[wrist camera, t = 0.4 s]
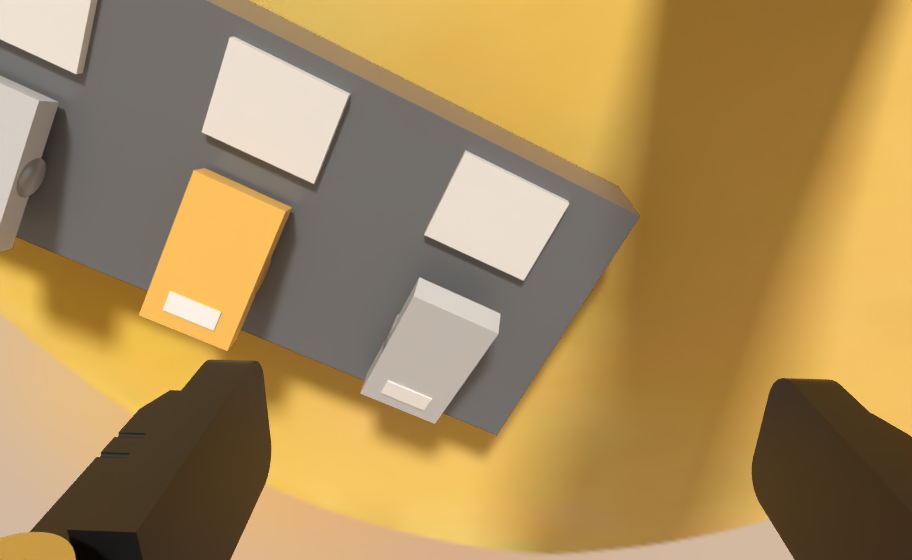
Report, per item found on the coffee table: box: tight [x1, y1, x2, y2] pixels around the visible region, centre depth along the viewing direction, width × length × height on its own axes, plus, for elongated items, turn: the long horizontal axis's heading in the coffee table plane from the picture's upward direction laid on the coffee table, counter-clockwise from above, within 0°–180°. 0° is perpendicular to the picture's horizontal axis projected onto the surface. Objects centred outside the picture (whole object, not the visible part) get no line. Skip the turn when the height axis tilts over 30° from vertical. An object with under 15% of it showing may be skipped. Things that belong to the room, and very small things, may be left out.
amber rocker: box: [139, 168, 292, 351], centre depth 23 cm, size 6×4×2 cm, turn 155°
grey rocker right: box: [360, 277, 500, 424], centre depth 25 cm, size 6×4×2 cm, turn 154°
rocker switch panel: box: [0, 0, 640, 435], centre depth 25 cm, size 12×28×4 cm, turn 64°
